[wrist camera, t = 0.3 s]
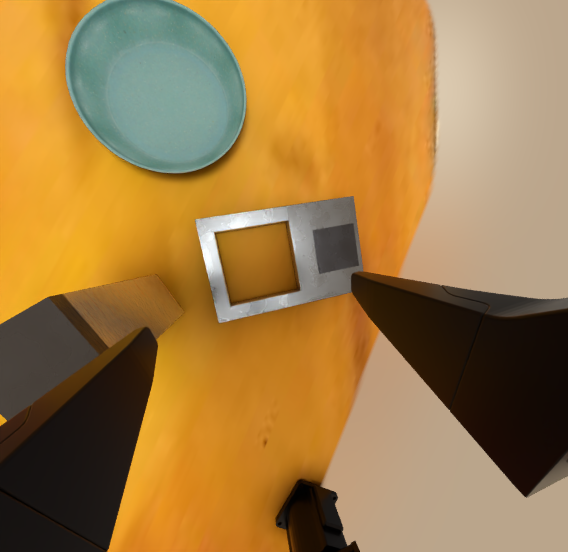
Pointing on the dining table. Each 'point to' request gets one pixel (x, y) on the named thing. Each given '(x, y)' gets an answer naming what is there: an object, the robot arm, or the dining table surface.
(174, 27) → the saucer
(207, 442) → the dining table surface
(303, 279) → the grey slotted plate
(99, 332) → the grey tall block
